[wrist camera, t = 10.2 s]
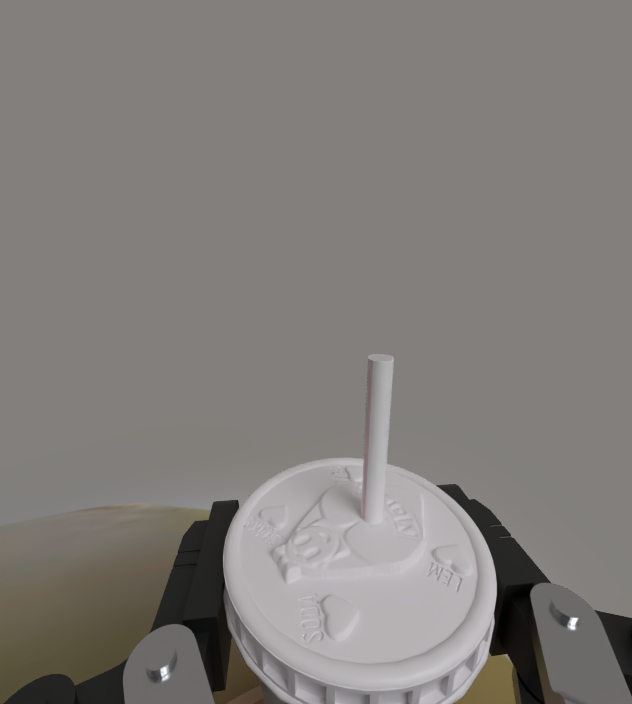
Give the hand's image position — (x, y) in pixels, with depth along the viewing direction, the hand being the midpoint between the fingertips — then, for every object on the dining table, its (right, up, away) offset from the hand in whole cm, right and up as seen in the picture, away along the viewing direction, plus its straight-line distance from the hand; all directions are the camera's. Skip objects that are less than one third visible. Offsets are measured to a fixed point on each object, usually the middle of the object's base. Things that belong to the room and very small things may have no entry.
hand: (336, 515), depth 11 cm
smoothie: (0, -9, 0) cm, 9 cm away
